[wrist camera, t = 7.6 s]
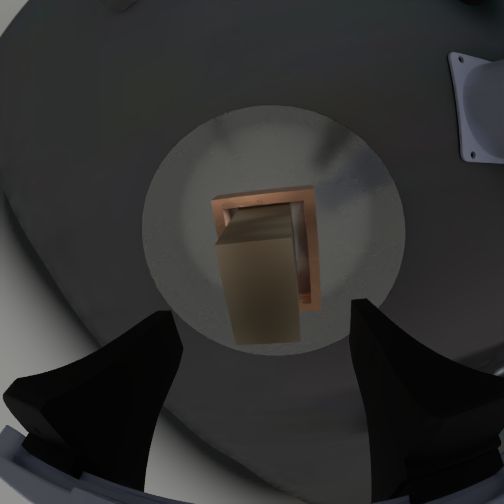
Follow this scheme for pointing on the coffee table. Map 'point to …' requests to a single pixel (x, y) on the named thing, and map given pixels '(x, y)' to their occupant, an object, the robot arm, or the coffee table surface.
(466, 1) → the coffee cup
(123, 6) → the lighter
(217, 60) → the coffee table surface
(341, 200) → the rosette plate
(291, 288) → the wood grain block
